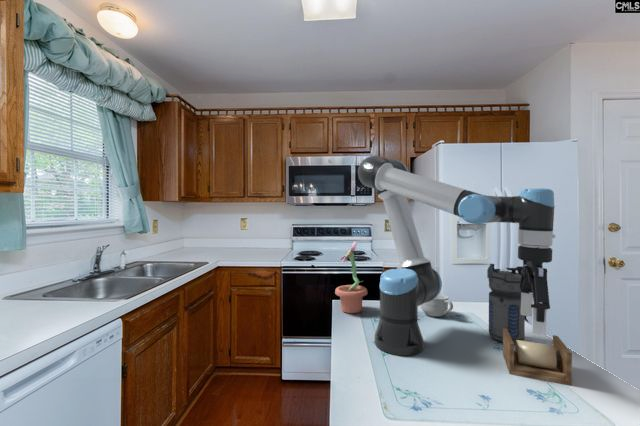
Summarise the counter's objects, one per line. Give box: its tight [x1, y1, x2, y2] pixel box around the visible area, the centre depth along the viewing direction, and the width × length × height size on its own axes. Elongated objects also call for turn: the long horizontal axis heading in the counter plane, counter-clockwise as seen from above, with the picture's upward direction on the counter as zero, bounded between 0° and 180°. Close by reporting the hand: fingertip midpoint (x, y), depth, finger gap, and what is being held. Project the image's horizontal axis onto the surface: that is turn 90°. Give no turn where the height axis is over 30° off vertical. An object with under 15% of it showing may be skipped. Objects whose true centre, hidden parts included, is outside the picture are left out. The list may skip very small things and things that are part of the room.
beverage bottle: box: [486, 263, 530, 345], centre depth 99 cm, size 10×13×25 cm
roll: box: [514, 340, 557, 370], centre depth 80 cm, size 8×6×6 cm
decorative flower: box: [334, 241, 368, 314], centre depth 128 cm, size 15×14×30 cm
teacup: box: [420, 293, 454, 318], centre depth 121 cm, size 14×11×8 cm
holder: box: [502, 328, 573, 387], centre depth 80 cm, size 13×11×8 cm
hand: (531, 323), depth 81 cm, fingers open, 13 cm apart
